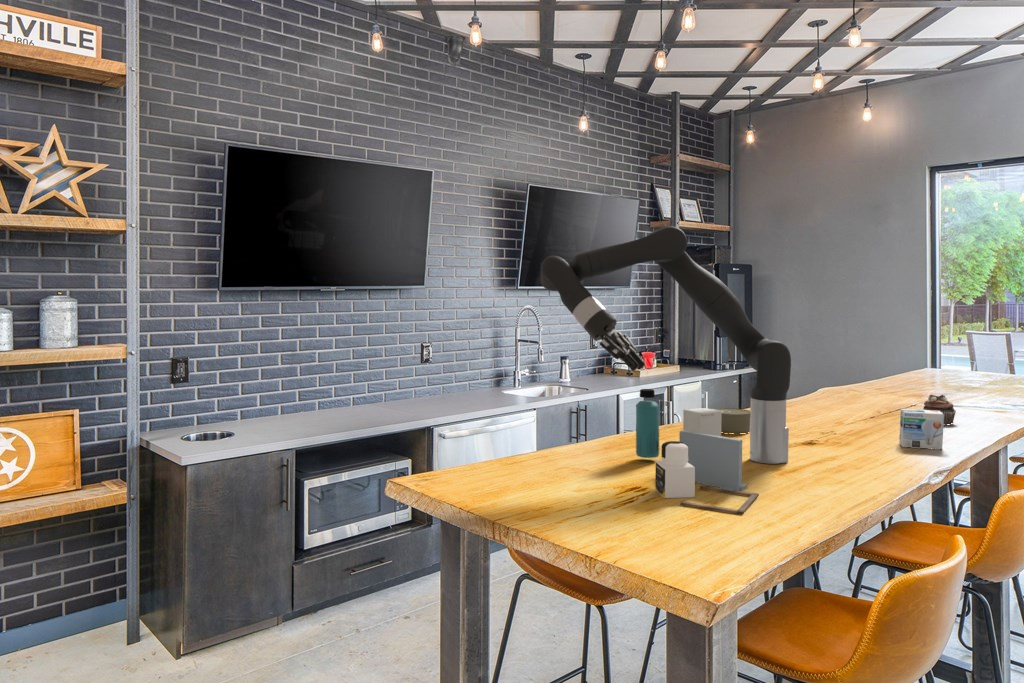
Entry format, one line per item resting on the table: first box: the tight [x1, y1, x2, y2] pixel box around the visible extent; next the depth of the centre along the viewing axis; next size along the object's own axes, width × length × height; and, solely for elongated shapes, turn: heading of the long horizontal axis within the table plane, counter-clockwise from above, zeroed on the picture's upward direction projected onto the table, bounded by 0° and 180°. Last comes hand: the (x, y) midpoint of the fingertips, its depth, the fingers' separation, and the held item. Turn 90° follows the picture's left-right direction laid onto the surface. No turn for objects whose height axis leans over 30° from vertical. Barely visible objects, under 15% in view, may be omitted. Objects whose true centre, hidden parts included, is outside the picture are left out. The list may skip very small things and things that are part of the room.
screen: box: [678, 429, 748, 491], centre depth 165 cm, size 16×7×12 cm, turn 43°
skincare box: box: [682, 407, 722, 436], centre depth 181 cm, size 8×7×16 cm
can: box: [714, 407, 750, 434], centre depth 229 cm, size 12×12×7 cm
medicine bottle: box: [654, 440, 696, 499], centre depth 157 cm, size 7×7×12 cm
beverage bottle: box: [635, 388, 661, 459], centre depth 189 cm, size 6×7×20 cm
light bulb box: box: [898, 408, 944, 450], centre depth 204 cm, size 11×7×11 cm, turn 68°
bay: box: [679, 485, 760, 516], centre depth 152 cm, size 13×15×1 cm
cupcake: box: [922, 394, 957, 424], centre depth 240 cm, size 10×10×10 cm
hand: (639, 367), depth 169 cm, fingers open, 3 cm apart
